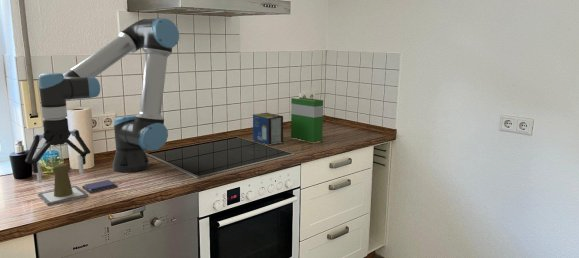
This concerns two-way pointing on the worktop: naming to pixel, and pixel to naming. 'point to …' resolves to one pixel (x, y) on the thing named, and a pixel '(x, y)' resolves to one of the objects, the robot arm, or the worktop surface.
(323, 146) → the worktop surface
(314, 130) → the green canister
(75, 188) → the marked mat
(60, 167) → the olive tapered cylinder
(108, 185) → the pad
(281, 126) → the protein box
